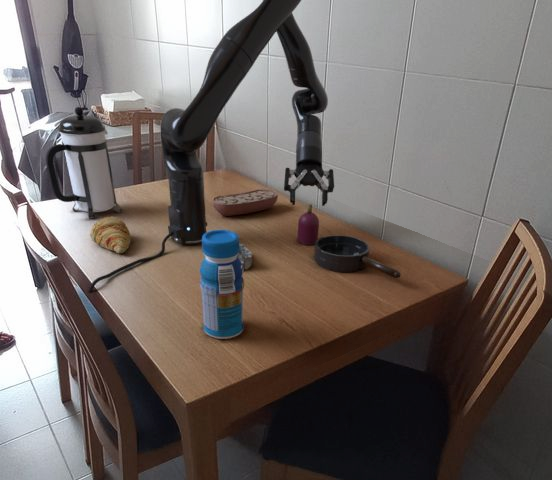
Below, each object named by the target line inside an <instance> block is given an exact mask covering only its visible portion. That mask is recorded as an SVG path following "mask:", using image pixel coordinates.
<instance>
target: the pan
mask: <svg viewBox="0 0 552 480" xmlns="http://www.w3.org/2000/svg"><path fill="white" fill-rule="evenodd" d="M370 251H371V248H370V245H369V243H368V242H367V241H365V240H363V239H361V238H358V237H355V236H351V235H343V234H329V235H325V236H321V237H318V239H317V241H316V242H315V243H314V251H313V260H314V262H315V264H317V265H318V266H319V267H320V268H322V269H325V270H328V271H331V272H336V273H337V272H338V273H354V272H358V271H360V270H362V269H364V268H365V267H366V266H367V265H365V264H363V263H362V261H361V259H362V258H363V257H368V258H370Z"/></svg>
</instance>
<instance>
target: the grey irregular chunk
mask: <svg viewBox="0 0 552 480" xmlns="http://www.w3.org/2000/svg"><path fill="white" fill-rule="evenodd" d="M237 257H238V258H239V260H240V261H241V263H242V266H243V270H249V269H250V267H251V268H252V262H253V260H252V257H253V253H252V252H251V250H249V249H248V248H247V247H246V246H245V244H243V243H239V253H238V255H237Z"/></svg>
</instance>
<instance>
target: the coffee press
mask: <svg viewBox="0 0 552 480" xmlns="http://www.w3.org/2000/svg"><path fill="white" fill-rule="evenodd" d="M74 113H75V114H76V115H71V116H66V117H64V118H63V119H61V120H60V122H59V126H58V128H57V129H58V132H59V134H60V137H61V144H55V145H52V146H51V147H49V149H48V150H47V152H46V155H45V164H46V165H45V166H46V171H47V174H48V179H49V183H50V187H51V190H52V193H53V195H54V197H55V198H56V199H58V200H59V201H61V202H64V203H72V202H74V205H73V207H72V211H73V212H74V213H75V212H78V211H79V210H80V211H82V212H86V213H88V214H87V215H88V216H87V217H88V219H89V220H95V215H96V213H101V212H106V211H109V210H114V211H115V212H116V213H120V212H121V211H122V206H120V204H119V203H118V202H117V198H116V197H117V196H116V191H115V185H114V179H113V172H112V166H111V161H110V153H109V149H108V141H107V138H106V135H108V134H109V133H108V130H107V129H106V126H105V125H104V124H103V121H102V120H101V119H99V118H98V117H96V116H92V115H83V114H84V110H83V108H82V107H81V106H77V107H75V109H74ZM62 151H63V153H64V157H65V161H66V167H67V171H68V175H69V181H70V187H71V190H72V194H71V195H63V194H62V192H61V190H60V186H59V182H58V178H57V173H56V169H55V164H54V158H55V155H57V153H60V152H62ZM115 206H116V207H117V208H118V209H117V208H116V207H115ZM75 207H76V208H77V209H76V208H75Z"/></svg>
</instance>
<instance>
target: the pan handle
mask: <svg viewBox="0 0 552 480" xmlns="http://www.w3.org/2000/svg"><path fill="white" fill-rule="evenodd" d="M361 261H362V263H363V264H365V265H366V266H368V267H370V268H372V269H375V270H377V271H379V272H381V273H383V274H385V275H388V276H390V277H392V278H394V279H399V278H400V277H401V271H399V270H398V269H395V268H393V267H392V266H391V267H390V266H388V265H386V264H384V263H381V262H379V261H377V260H375V259H372V258H370V257H369V258H368V257H363V258H362V259H361Z"/></svg>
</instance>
